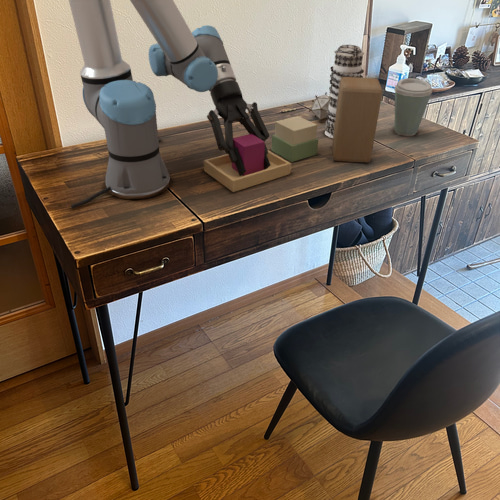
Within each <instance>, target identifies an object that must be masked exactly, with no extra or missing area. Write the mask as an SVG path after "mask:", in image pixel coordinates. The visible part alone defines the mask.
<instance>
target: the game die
mask: <svg viewBox="0 0 500 500" xmlns="http://www.w3.org/2000/svg"><path fill="white" fill-rule="evenodd" d="M327 94H328V93H327V91H326V92H325V93H324V94H322V95H320V96H318V95H316V94H315V96H314V97H315V99H314V100H311V102H312V106H311V109H308V112H311V113H312V114H313V115H314V118H316V117H317V119H318V120H319V123H322V121H323V120H325V119H327V115H328V114H327V110H329V109H328V108H329V104H330V98H331V97H330V96H329V95H327Z"/></svg>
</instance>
